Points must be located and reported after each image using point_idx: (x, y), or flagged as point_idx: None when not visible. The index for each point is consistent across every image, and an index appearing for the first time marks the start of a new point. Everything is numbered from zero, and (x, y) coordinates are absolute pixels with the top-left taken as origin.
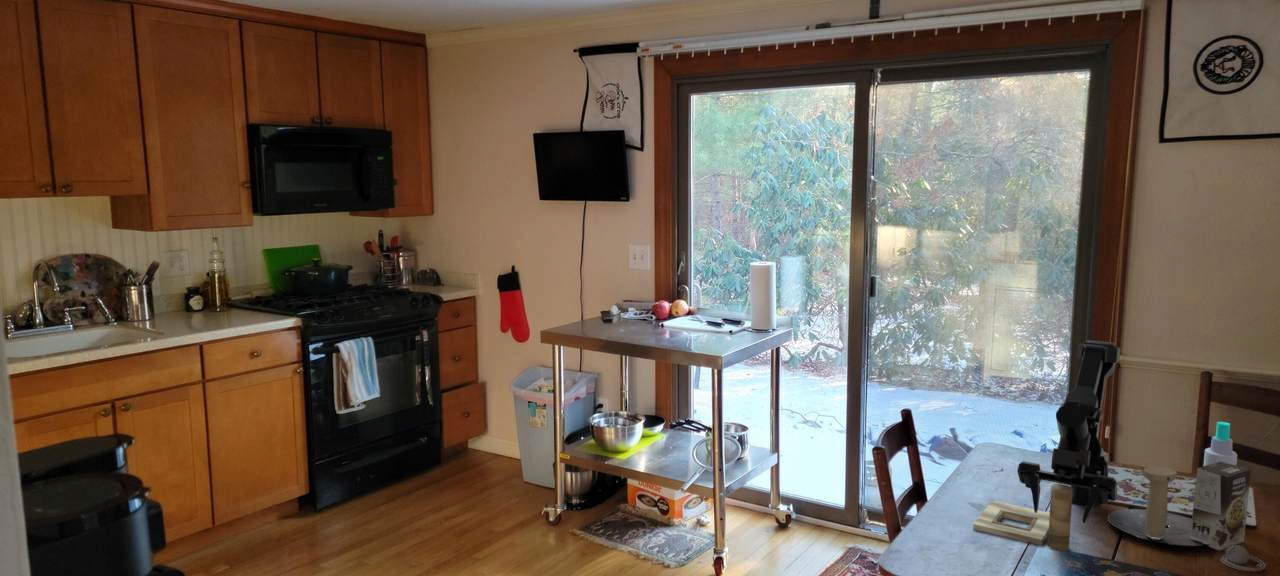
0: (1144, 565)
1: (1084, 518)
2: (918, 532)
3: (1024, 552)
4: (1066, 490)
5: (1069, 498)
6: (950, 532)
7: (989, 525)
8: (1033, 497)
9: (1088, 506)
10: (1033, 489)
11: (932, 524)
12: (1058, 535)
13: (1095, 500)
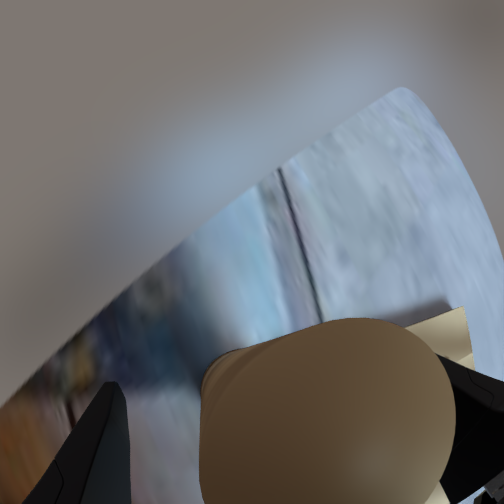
0: (2, 405)
1: (105, 389)
2: (478, 209)
3: (303, 260)
4: (265, 406)
5: (208, 401)
6: (462, 251)
7: (441, 331)
8: (447, 362)
9: (77, 456)
10: (488, 384)
11: (491, 264)
12: (234, 350)
13: (29, 498)
